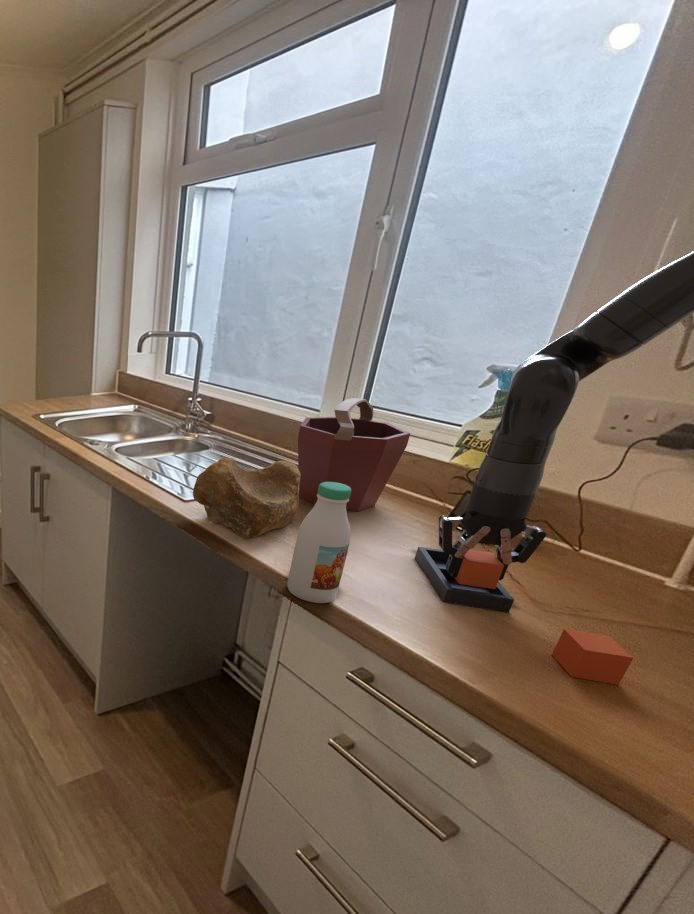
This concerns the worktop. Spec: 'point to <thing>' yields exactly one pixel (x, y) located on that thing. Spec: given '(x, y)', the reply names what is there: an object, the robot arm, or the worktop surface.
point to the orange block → (592, 656)
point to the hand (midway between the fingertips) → (472, 577)
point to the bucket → (349, 453)
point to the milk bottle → (321, 546)
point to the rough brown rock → (249, 496)
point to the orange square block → (480, 569)
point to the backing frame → (458, 593)
